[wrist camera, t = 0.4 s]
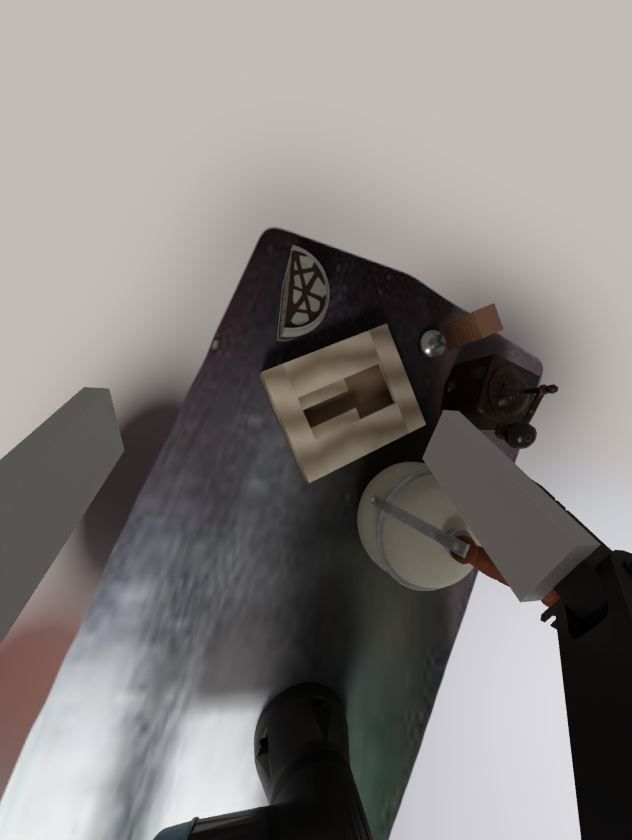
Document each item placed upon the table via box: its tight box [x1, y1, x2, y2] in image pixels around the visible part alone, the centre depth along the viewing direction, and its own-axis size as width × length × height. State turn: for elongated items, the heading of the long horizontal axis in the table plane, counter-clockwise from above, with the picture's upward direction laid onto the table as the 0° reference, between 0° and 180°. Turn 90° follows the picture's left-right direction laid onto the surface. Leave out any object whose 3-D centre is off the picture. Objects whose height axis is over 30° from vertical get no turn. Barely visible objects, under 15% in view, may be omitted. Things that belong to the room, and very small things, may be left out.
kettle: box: [357, 462, 560, 607], centre depth 41 cm, size 25×18×25 cm
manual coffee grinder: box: [441, 354, 558, 449], centre depth 48 cm, size 16×11×18 cm
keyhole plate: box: [259, 324, 426, 483], centre depth 48 cm, size 18×22×5 cm
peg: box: [418, 304, 503, 358], centre depth 49 cm, size 5×5×14 cm
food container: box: [277, 245, 330, 342], centre depth 44 cm, size 12×6×10 cm, turn 174°
